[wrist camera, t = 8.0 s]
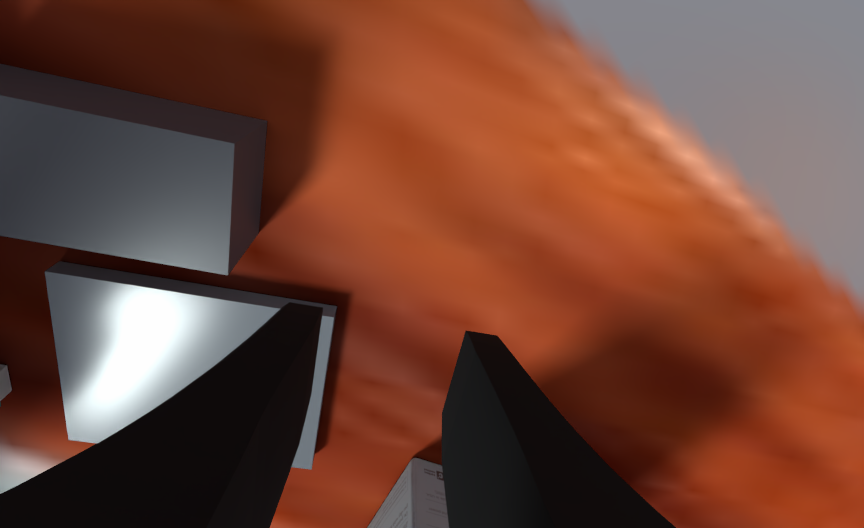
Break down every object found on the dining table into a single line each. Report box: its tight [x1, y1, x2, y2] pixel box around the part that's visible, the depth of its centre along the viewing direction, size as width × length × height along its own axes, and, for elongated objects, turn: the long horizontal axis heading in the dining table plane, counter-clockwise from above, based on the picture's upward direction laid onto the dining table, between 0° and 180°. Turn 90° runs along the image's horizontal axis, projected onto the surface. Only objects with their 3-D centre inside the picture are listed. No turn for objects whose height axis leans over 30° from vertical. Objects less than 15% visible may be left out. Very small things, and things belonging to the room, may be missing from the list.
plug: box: [0, 64, 267, 275], centre depth 15 cm, size 4×8×4 cm, turn 77°
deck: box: [45, 261, 337, 469], centre depth 20 cm, size 8×10×1 cm
